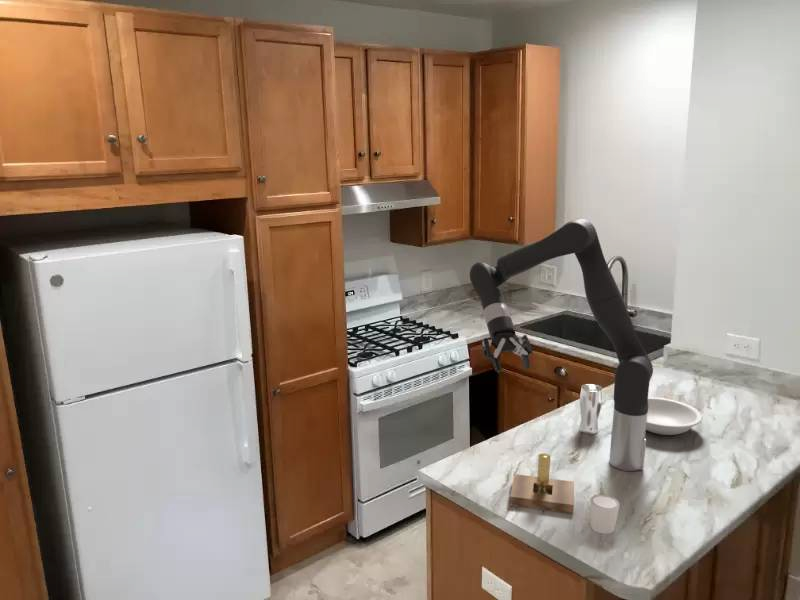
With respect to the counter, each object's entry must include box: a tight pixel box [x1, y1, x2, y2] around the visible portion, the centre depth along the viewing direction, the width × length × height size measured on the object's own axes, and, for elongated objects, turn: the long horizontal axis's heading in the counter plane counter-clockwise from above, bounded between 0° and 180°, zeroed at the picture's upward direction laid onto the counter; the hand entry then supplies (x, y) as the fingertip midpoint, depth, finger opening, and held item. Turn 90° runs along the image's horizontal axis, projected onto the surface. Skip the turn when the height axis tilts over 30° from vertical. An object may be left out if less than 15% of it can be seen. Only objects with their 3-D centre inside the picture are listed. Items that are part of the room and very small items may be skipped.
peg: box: [536, 453, 551, 495], centre depth 168 cm, size 3×3×12 cm
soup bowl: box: [646, 396, 703, 436], centre depth 209 cm, size 24×24×7 cm
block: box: [509, 473, 575, 515], centre depth 169 cm, size 16×12×2 cm
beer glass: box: [578, 383, 603, 435], centre depth 208 cm, size 7×7×15 cm
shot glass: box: [589, 494, 620, 535], centre depth 155 cm, size 7×7×7 cm
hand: (513, 370), depth 182 cm, fingers open, 8 cm apart
